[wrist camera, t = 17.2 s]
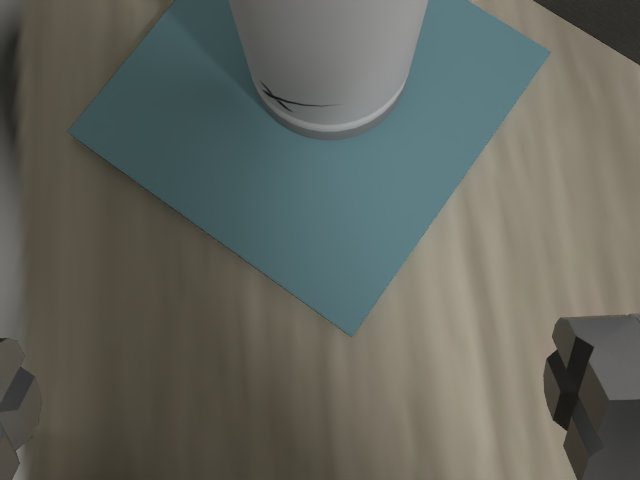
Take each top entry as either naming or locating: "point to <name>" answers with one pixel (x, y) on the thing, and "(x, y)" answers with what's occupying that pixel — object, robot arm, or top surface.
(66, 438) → the top surface
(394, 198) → the rubber mat
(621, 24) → the square collar
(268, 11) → the travel mug
